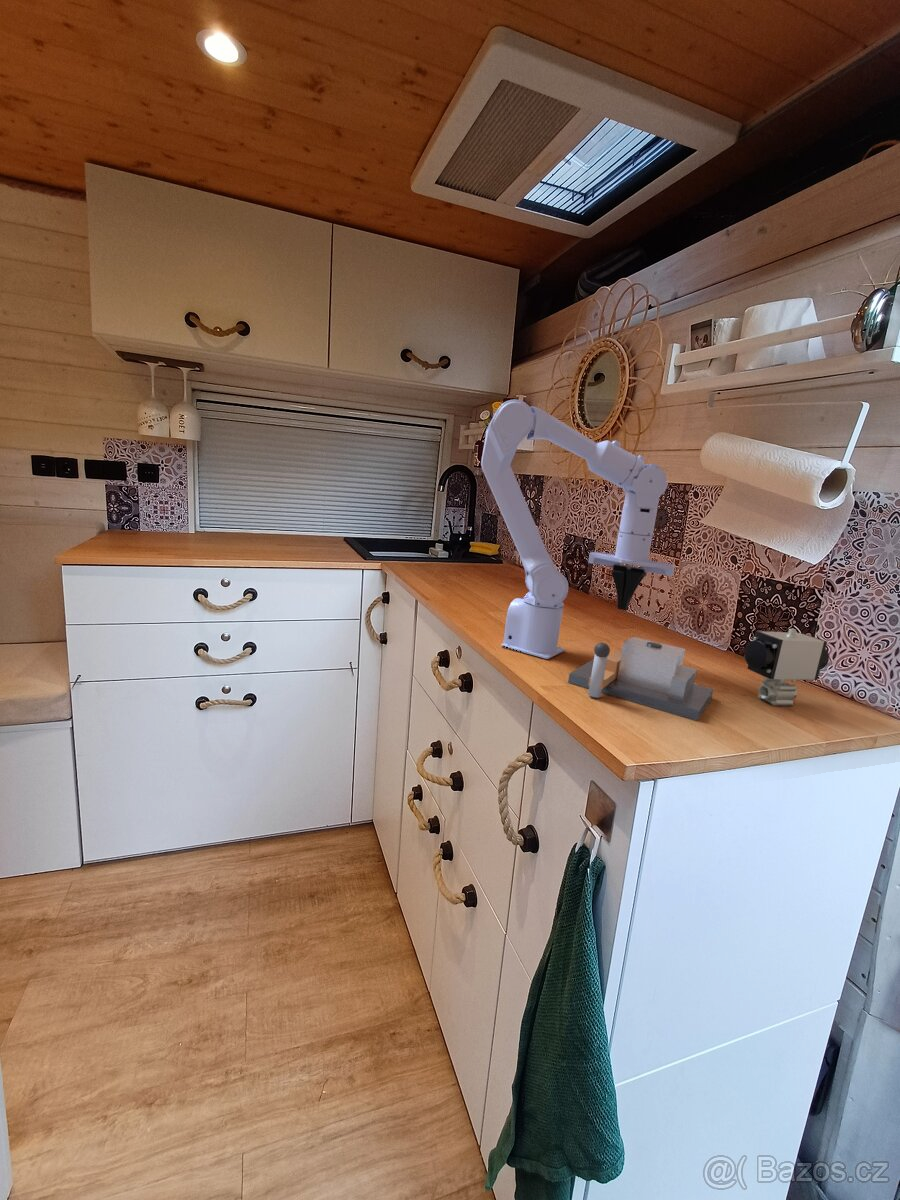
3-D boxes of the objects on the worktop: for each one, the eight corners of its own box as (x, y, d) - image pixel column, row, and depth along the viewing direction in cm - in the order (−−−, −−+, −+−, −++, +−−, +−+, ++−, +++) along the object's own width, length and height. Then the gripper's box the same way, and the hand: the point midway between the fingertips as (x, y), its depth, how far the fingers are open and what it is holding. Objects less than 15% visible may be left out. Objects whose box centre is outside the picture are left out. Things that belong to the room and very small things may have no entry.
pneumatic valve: (817, 708, 87) (836, 634, 84) (755, 708, 84) (773, 632, 82) (789, 694, 92) (806, 625, 90) (729, 694, 89) (745, 622, 87)
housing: (616, 679, 86) (623, 640, 85) (626, 672, 90) (632, 635, 89) (670, 694, 82) (678, 654, 80) (677, 686, 86) (685, 647, 84)
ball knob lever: (584, 694, 81) (593, 642, 80) (613, 674, 92) (621, 627, 91) (599, 699, 80) (608, 646, 78) (626, 677, 91) (634, 630, 89)
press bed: (567, 682, 87) (572, 655, 86) (594, 666, 97) (598, 641, 96) (697, 720, 77) (703, 690, 76) (711, 698, 87) (717, 670, 86)
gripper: (588, 528, 98) (577, 603, 101) (675, 540, 91) (660, 620, 94) (599, 528, 104) (588, 598, 107) (681, 539, 97) (667, 614, 100)
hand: (622, 608), depth 101 cm, fingers closed
